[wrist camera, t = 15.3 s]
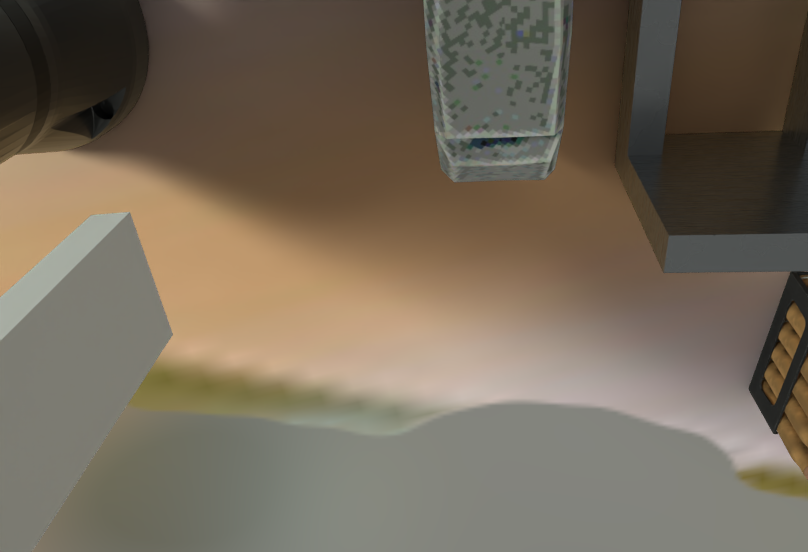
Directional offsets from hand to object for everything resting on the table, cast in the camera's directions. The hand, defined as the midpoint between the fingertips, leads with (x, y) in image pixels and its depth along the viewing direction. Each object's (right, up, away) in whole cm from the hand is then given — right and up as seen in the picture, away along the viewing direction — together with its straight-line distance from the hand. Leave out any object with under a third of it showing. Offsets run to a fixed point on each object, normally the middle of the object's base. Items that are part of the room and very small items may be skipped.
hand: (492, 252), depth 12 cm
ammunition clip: (+26, -5, +38) cm, 47 cm away
